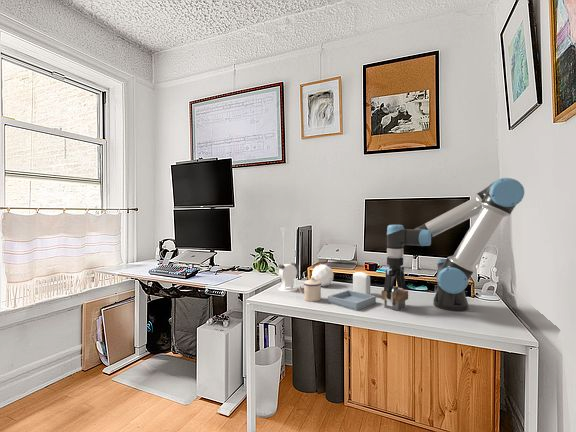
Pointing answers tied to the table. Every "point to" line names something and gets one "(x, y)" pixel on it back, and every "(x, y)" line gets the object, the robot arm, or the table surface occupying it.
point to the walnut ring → (397, 296)
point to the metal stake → (395, 305)
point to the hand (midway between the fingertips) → (394, 303)
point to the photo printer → (361, 283)
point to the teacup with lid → (311, 290)
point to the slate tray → (352, 300)
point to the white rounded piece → (287, 277)
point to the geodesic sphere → (323, 274)
